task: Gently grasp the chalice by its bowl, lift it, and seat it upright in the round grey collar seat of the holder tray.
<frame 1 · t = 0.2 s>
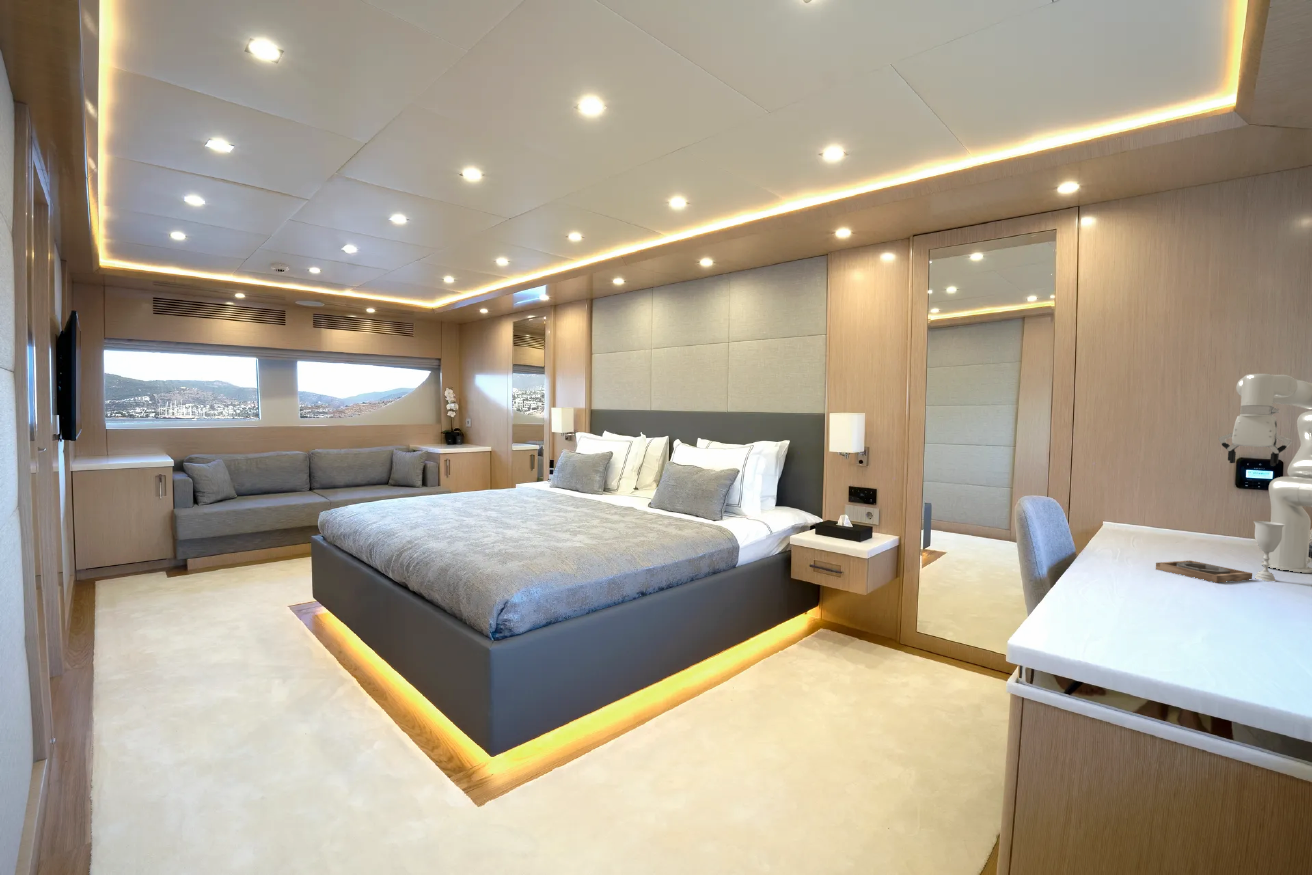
hand: (1252, 464, 199), 36 cm above the table, tool pointing down, fingers open, 9 cm apart
chalice: (1264, 580, 193), on the table
holder tray: (1202, 574, 197), on the table
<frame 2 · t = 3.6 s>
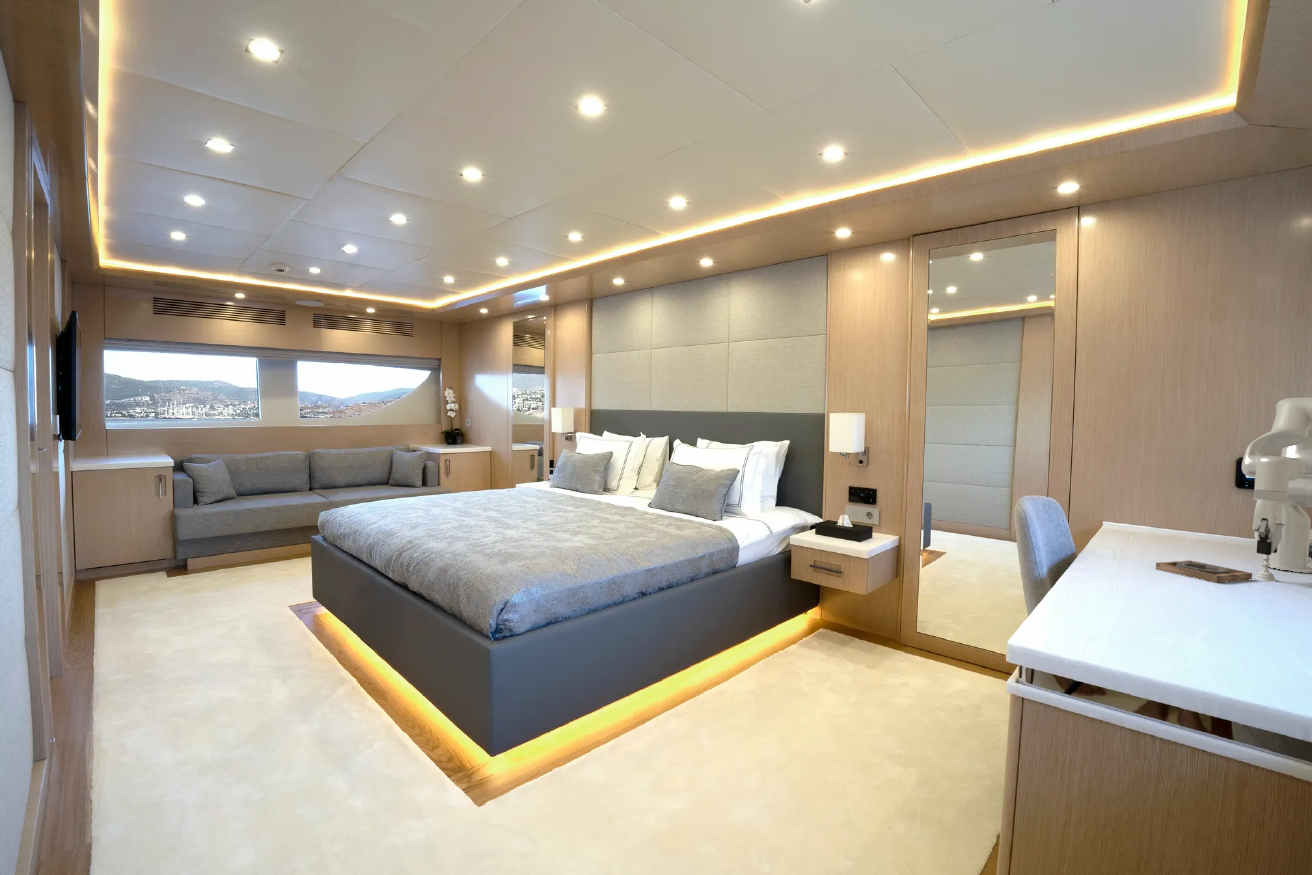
hand: (1266, 552, 193), 9 cm above the table, tool pointing down, fingers closed on chalice, 6 cm apart
chalice: (1264, 580, 193), on the table, touching gripper
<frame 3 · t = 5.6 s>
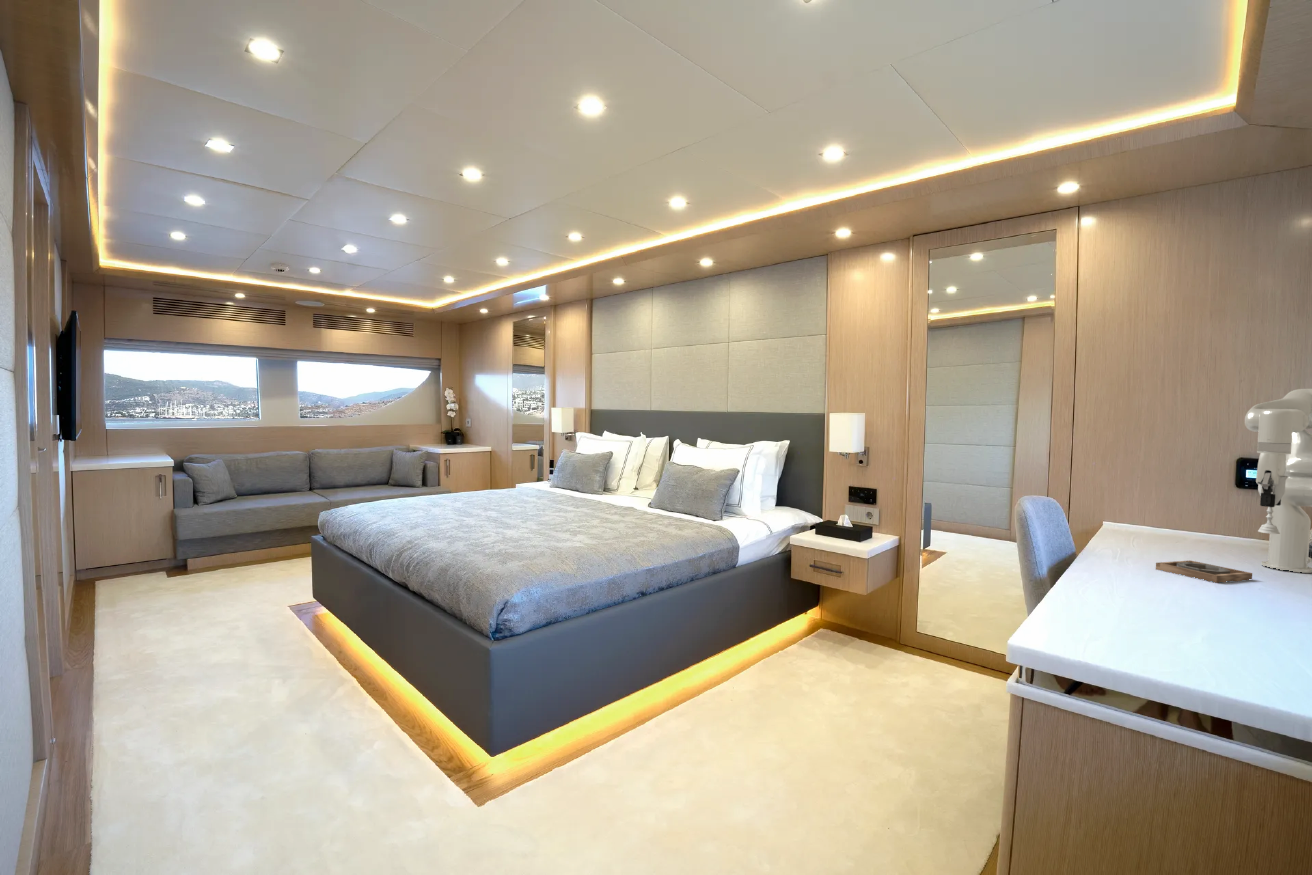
hand: (1270, 505, 192), 24 cm above the table, tool pointing down, fingers closed on chalice, 6 cm apart
chalice: (1268, 532, 193), point 15 cm above the table, touching gripper
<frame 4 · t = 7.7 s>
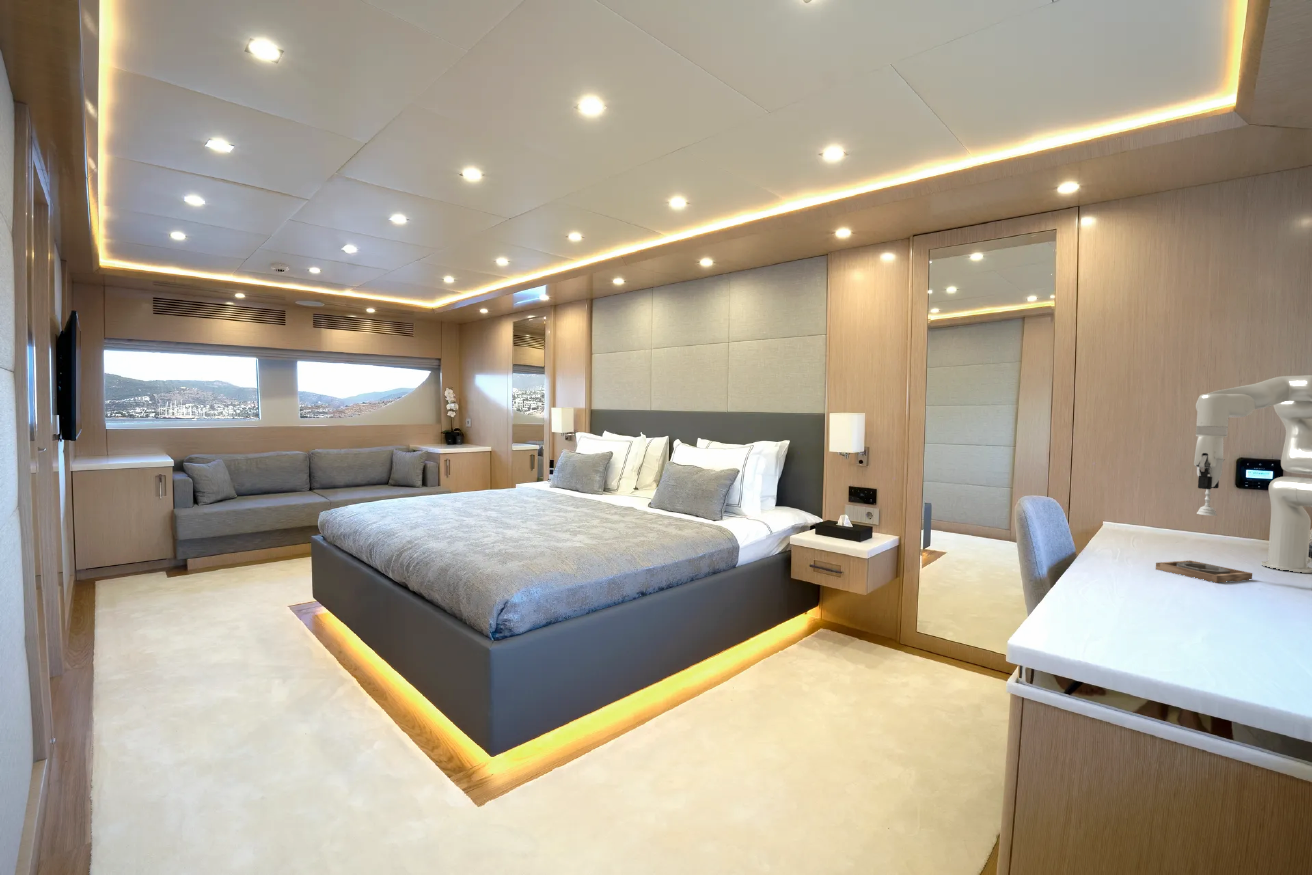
hand: (1208, 487, 196), 28 cm above the table, tool pointing down, fingers closed on chalice, 6 cm apart
chalice: (1206, 514, 196), point 19 cm above the table, touching gripper
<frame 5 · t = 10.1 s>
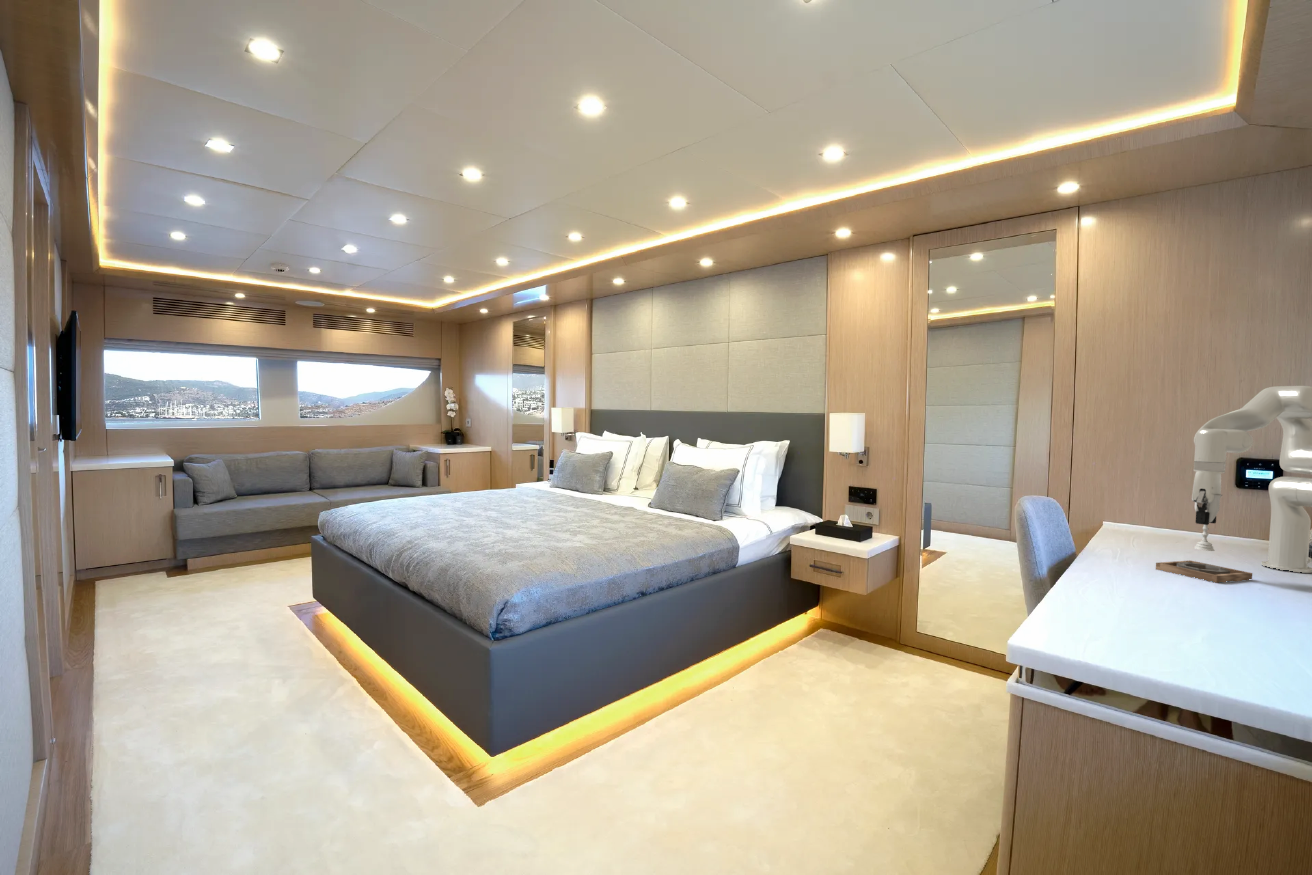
hand: (1205, 522, 197), 17 cm above the table, tool pointing down, fingers closed on chalice, 6 cm apart
chalice: (1204, 549, 197), point 8 cm above the table, touching gripper
when the fingers open (10 cm above the table, at t = 12.2 s): chalice stays where it is, resting on holder tray.
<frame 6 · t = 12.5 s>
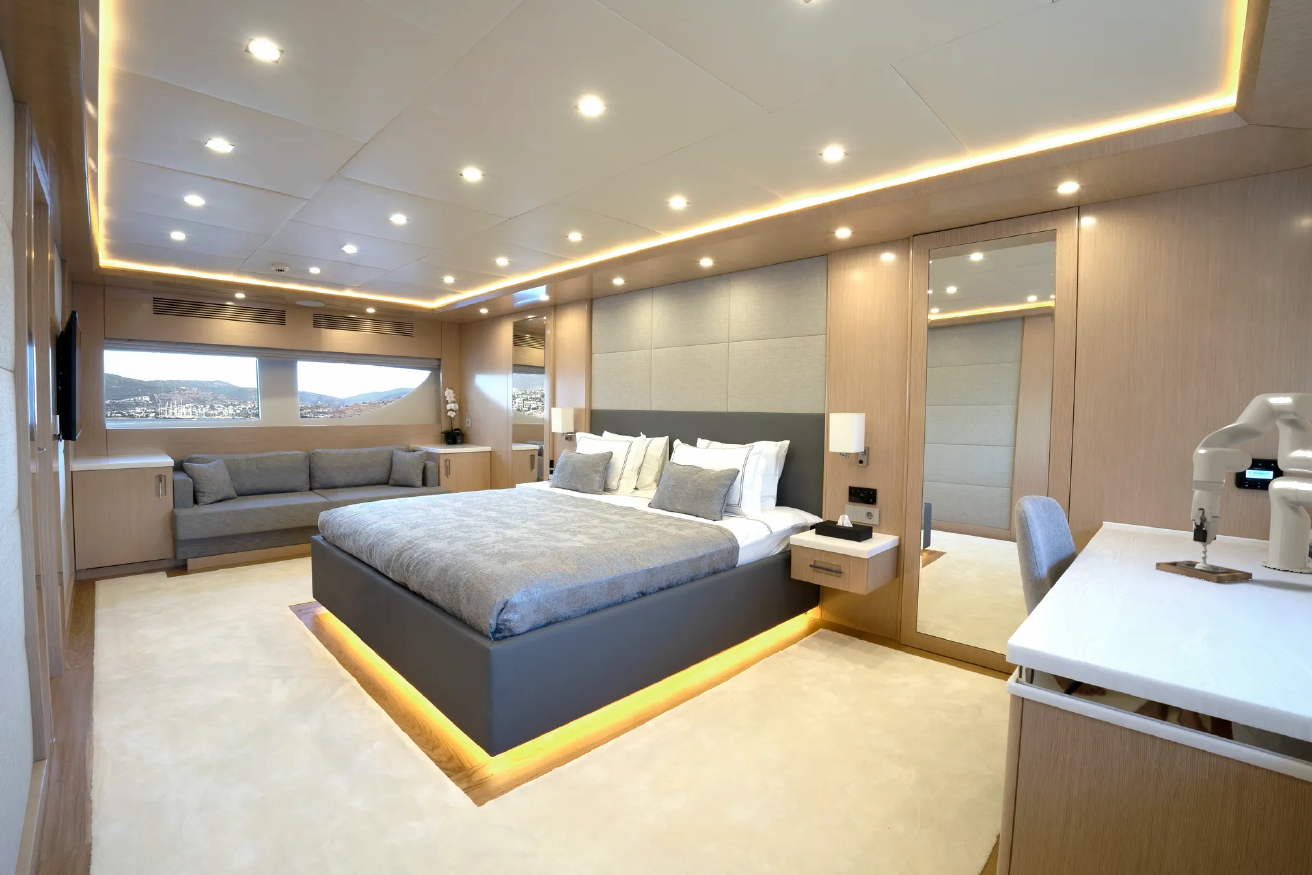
hand: (1204, 540, 197), 11 cm above the table, tool pointing down, fingers open, 8 cm apart
chalice: (1203, 571, 197), point 1 cm above the table, touching holder tray
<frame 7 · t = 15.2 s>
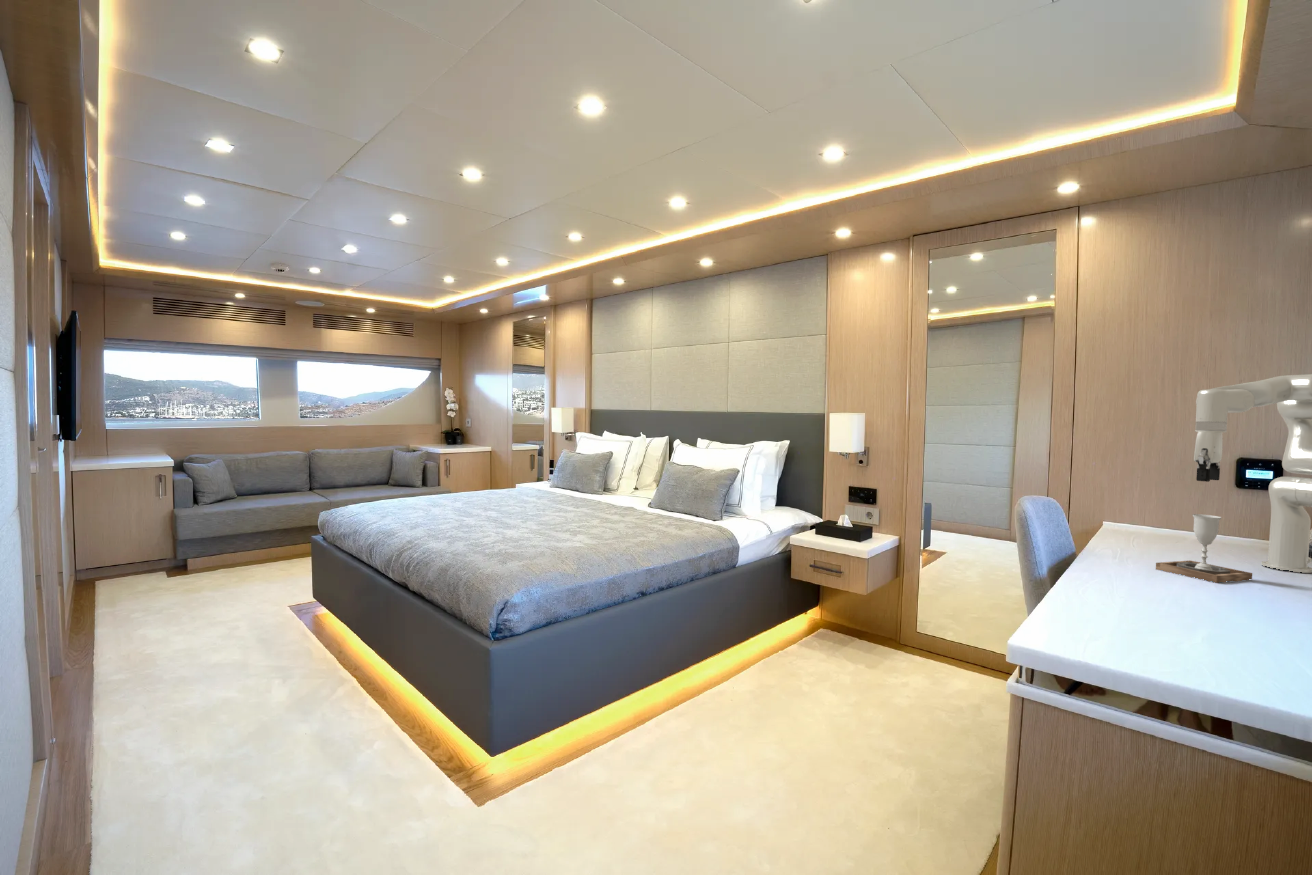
hand: (1207, 480, 198), 30 cm above the table, tool pointing down, fingers open, 9 cm apart
nothing on the table moved.
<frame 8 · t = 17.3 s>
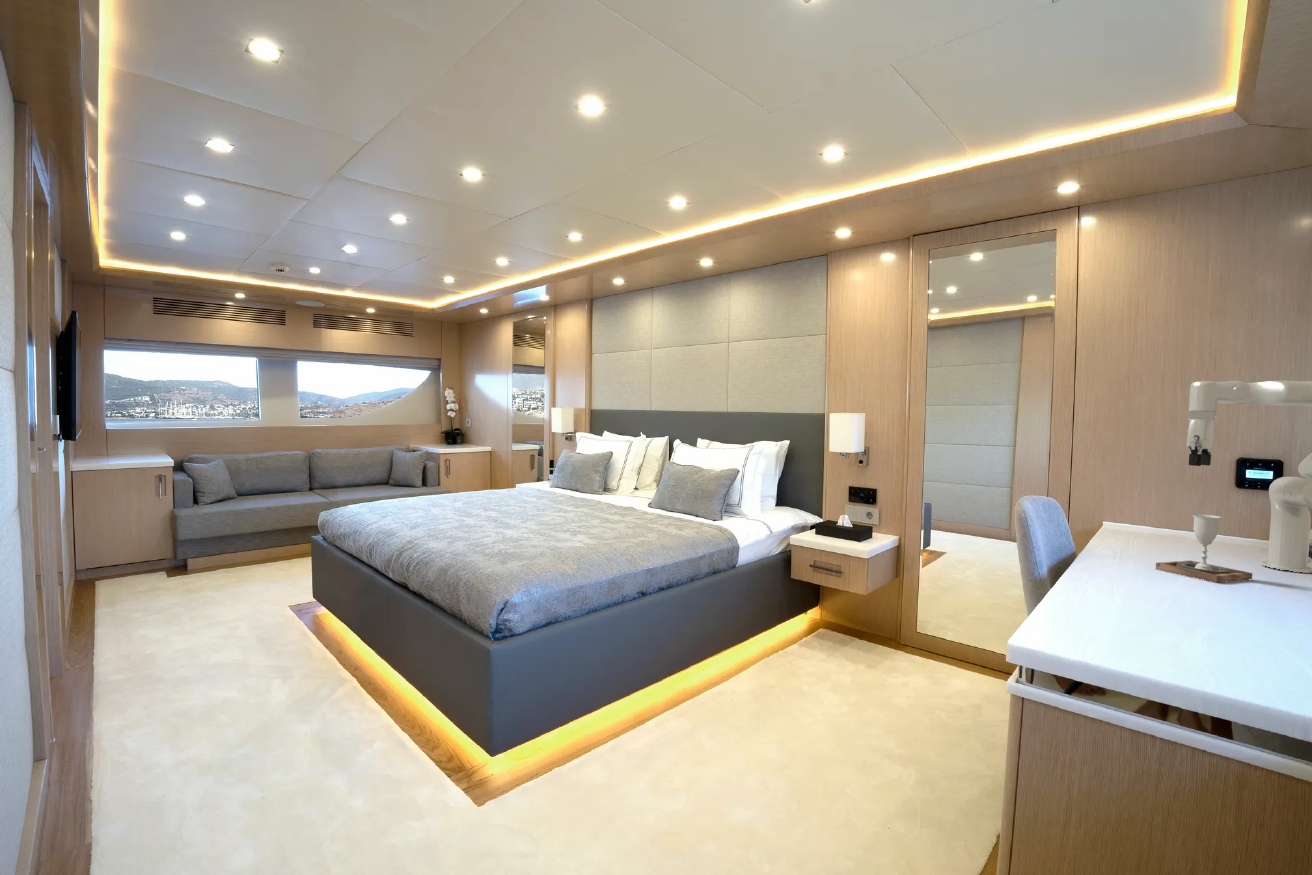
hand: (1199, 465, 214), 34 cm above the table, tool pointing down, fingers open, 9 cm apart
nothing on the table moved.
at the end: chalice 0.2 cm from the holder tray (horizontally); chalice tilted 0°; chalice point 0.8 cm above the table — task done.
